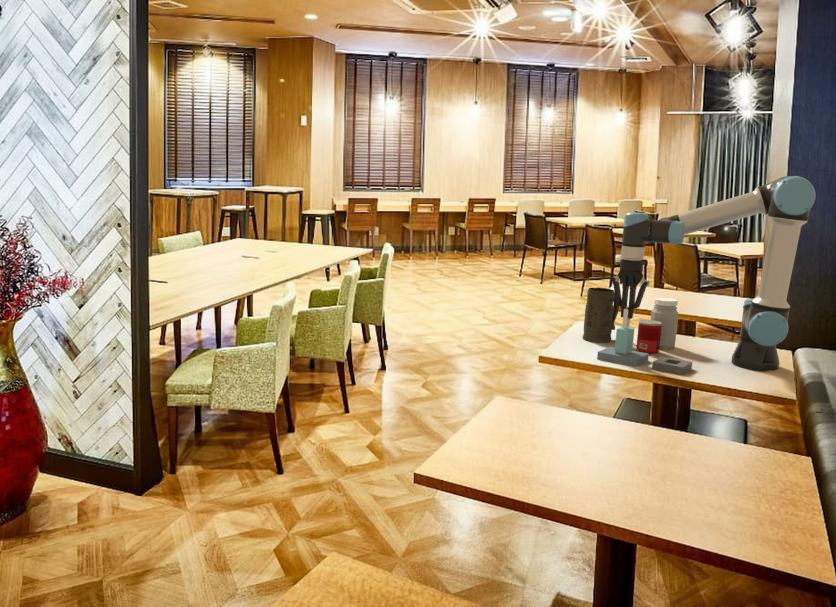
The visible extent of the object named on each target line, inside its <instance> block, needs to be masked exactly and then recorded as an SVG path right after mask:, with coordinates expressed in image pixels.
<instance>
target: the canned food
mask: <svg viewBox="0 0 836 607" xmlns="http://www.w3.org/2000/svg"><path fill="white" fill-rule="evenodd" d="M661 329H662V323H661V322H659V321H654V320H651V319H640V320H639V321H638V327H637V337H636V348H635V349H636V351H637V352H643V353H648V354H649V355H656V354H658V353H659V352H660V349H659V348H660V339H661Z"/></svg>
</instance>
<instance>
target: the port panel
mask: <svg viewBox="0 0 836 607" xmlns="http://www.w3.org/2000/svg"><path fill="white" fill-rule="evenodd" d="M596 356H597V357H596V359H597V360H600V359H602V360H601V361H605V360H606V361H607V362H612V363H615V362H616V363H617V364H622V365H627V366H632V367H639V366H641V365H642V364H643V365H644V363H646V362H648V361H649V356H650V354H648V353H643V352H638V351H637V350H632V351H631V352H630V354H628V355H623V354H617V352H615V346H609V347H606V348H603V349H601V350H599V351H597V355H596Z"/></svg>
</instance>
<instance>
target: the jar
mask: <svg viewBox="0 0 836 607" xmlns="http://www.w3.org/2000/svg"><path fill="white" fill-rule="evenodd" d="M678 302H679V301H678V299H676V298H673V297H663V296H662V297H659V296H658V297H655V298H654V305H653V308H652V309H651V313H650V320H654V321H659V322H661V323H662V329H661V339H660V348H659V350H672V349H674V347H675V346H676V338H677V330H678V319H679V311H678V307H677V306H678Z"/></svg>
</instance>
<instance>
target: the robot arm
mask: <svg viewBox="0 0 836 607" xmlns="http://www.w3.org/2000/svg"><path fill="white" fill-rule="evenodd" d="M816 195H817V194H816V190H815V187H814V185H813V184H812V183H811V182H810V181H809V180H808V179H807V178H805V177H803V176H798V175H785V176H782V177H779V178H777V179H775V180H772V181H770V182H768V183H766V184H763V185H761V186H756V187H755V188H754V190H753V191H750V192H747V193H744V194H740V195H737V196H734V197H730V198H728V199H723V200H721V201H718V202H714V203H711V204H709V205H704V206H701V207H697V208H694V209H691V210H688V211H684V212H679V213H678V214H675V215H671V216H669V217H668V216H667V217H666V216H665V217H662V218H660V219H651V218H649V215H648V213H645V212H644V213H643V212H631V211H630V212H627V213H626V214H624V221H623V227H622V228H623V229H622V243H621V250H620V251H621V252H620V257H621V259H620V263H619V272H618V273H617V275H615V276H612V277H611V278H610V281H611V282H612V284H613V290H614V293H615V300H616V305H617V306H619V308H620V309H621V310H620V318H622V323H621V324H622V325H621V327H622V328H630V324H631V322H630V321H631V319H634V310H635V309H638V308H640V306H641V303H642V301H643V298H644V295H645V292H646V290H647V287H648V286H649V285H650V280H646V279H645V277H644V274H643V271H644V260H643V259H644V258H645V250H646V248H645V247H646V243H654V244H655V243H657V244H669V245H682V244H683V243H684V239H685V238H684V237H685V236H686V235H689V234H692V233H696V232H699V231H702V230H706V229H710V228H713V227H717V226H720V225H724V224H728V223H731V222H735V221H738V220H741V219H745V218H748V217H751V216H752V217H753V216H755V215H758V214H762V215H764V216H765V215H767V218H768V219H769V221H770V222H771V225H770V230H769V236H768V240H767V241H768V242H767V245H766V251H765V255H764V262H763V266H762V271H761V277H760V280H759V286H758V292H757V295H756V296H755V297H754V298H746V299H745V300H744V302H743V305H742V317H741V325H740V333H739V341H738V342H737V344H736V345H737V346H736V347H735V349H734V351H733V354H732V355H731V364H733V365H735V366H737V367H740V368H744V369H749V370H753V371H765V370H767V371H769V370H771V371H777V370H779V368H780V358H779V353H778V349H777V345H778V344H780V343H782V342H783V341H784V340H785V339H786V338H787V336H788V333H789V323H788V321H789V314H790V310H791V306H790V304H789V302H788V301H787V300H788V299H787V297H788V293H789V289H790V284H791V278H792V274H793V269H794V263H795V258H796V255H797V254H796V253H797V249H798V245H799V239H800V235H801V231H802V230H801V229H802V226H804V225H805V224H806V223H808V222H809V217H810V212H811V208H812V207H813V205H815V202H816ZM620 282H621V284H622V287H620ZM639 284H640V287H639V289H638V292H637V287H638V285H639ZM621 288H622V291H621ZM621 292H622V293H621ZM636 292H637V296H636Z"/></svg>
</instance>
